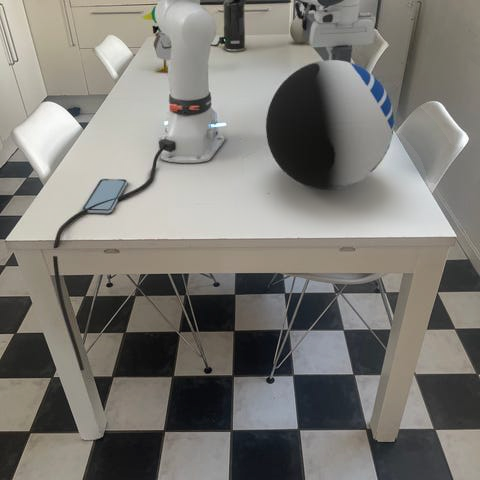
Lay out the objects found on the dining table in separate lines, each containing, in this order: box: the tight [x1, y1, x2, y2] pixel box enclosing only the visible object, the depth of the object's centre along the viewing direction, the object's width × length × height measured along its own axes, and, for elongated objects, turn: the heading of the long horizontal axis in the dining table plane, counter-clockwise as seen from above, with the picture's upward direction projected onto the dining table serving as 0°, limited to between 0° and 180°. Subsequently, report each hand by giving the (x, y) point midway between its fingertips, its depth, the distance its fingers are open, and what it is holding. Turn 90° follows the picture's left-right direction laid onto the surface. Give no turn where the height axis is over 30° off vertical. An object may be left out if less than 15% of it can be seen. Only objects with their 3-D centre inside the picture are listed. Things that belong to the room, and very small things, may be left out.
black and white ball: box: [265, 60, 395, 190], centre depth 123 cm, size 30×30×30 cm
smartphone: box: [81, 178, 128, 214], centre depth 127 cm, size 7×1×15 cm
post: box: [302, 12, 353, 63], centre depth 182 cm, size 52×4×8 cm, turn 7°
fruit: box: [289, 10, 308, 44], centre depth 238 cm, size 10×12×15 cm
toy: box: [141, 4, 171, 73], centre depth 204 cm, size 8×20×24 cm, turn 69°
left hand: (339, 59), depth 166 cm, fingers closed on post, 4 cm apart
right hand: (310, 29), depth 200 cm, fingers closed on post, 4 cm apart
